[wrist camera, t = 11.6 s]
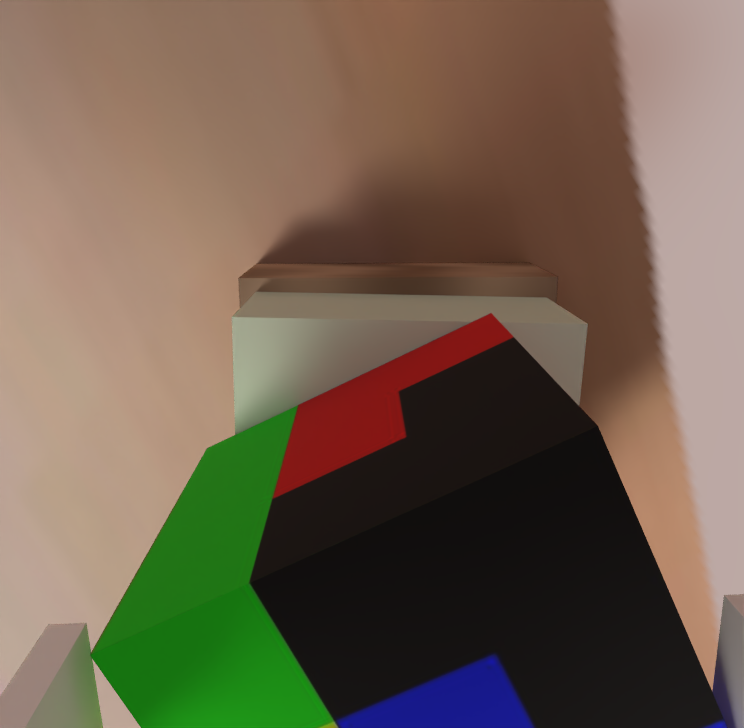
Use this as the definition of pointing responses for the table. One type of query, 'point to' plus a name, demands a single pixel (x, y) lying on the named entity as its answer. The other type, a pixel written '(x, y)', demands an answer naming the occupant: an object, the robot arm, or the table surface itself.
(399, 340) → the top slab
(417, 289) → the bottom slab
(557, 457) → the puzzle toy
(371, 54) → the table surface
